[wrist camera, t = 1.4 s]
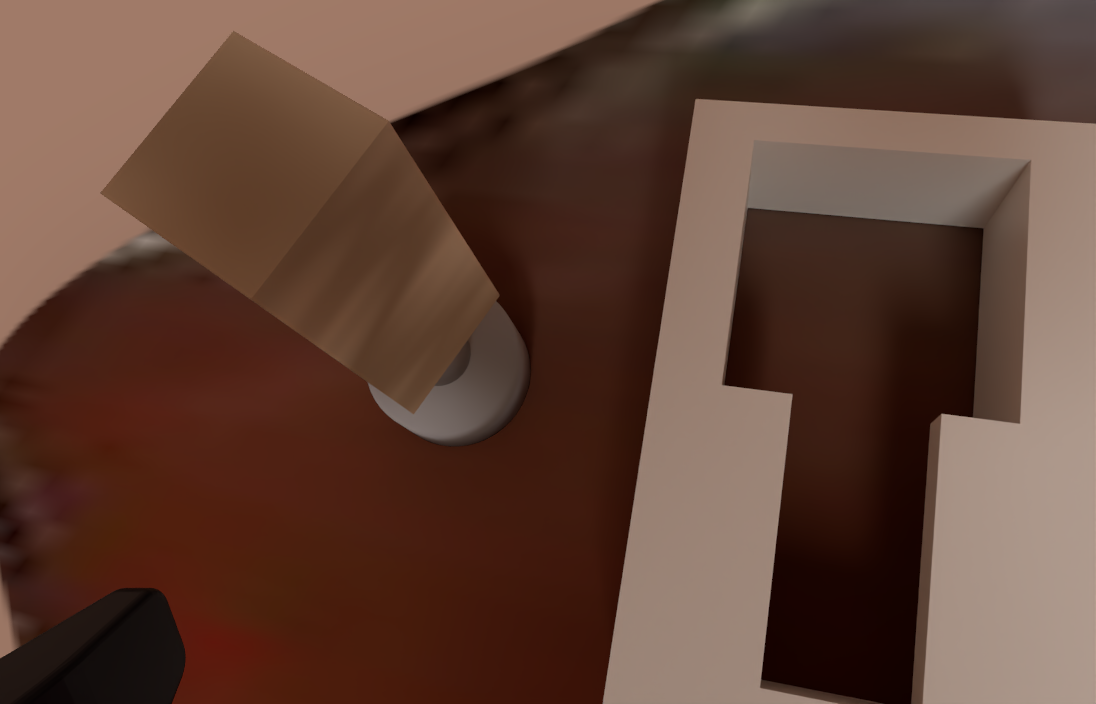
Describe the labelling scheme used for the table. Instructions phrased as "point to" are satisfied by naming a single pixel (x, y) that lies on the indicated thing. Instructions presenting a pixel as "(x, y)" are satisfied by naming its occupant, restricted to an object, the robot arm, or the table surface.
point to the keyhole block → (954, 442)
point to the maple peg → (331, 239)
